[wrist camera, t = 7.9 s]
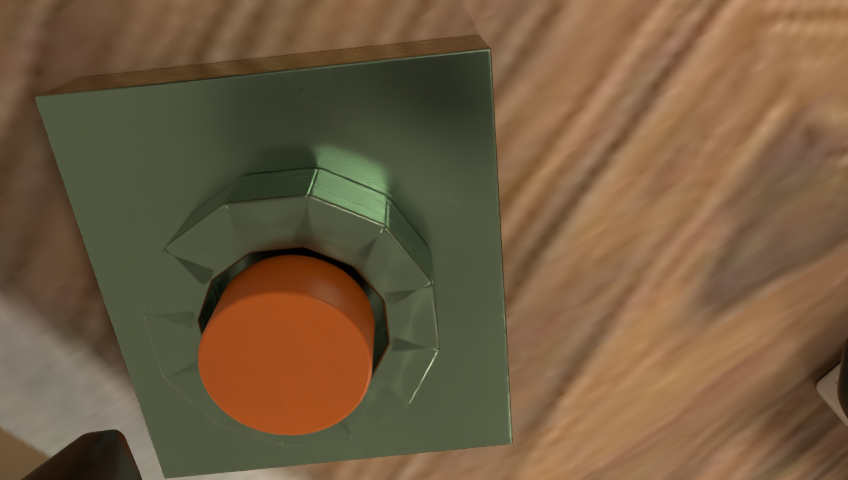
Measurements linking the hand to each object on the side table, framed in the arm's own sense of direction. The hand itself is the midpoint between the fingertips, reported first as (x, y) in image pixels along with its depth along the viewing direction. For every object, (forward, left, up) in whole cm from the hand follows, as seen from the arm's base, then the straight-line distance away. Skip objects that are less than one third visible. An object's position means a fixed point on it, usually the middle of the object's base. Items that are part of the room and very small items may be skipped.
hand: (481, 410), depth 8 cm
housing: (+2, -4, -10) cm, 11 cm away
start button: (+2, -4, -7) cm, 8 cm away
